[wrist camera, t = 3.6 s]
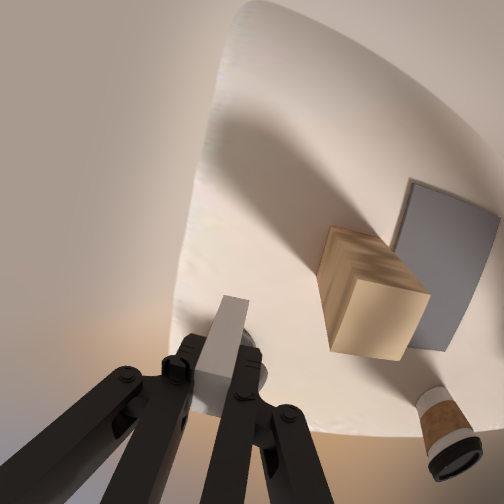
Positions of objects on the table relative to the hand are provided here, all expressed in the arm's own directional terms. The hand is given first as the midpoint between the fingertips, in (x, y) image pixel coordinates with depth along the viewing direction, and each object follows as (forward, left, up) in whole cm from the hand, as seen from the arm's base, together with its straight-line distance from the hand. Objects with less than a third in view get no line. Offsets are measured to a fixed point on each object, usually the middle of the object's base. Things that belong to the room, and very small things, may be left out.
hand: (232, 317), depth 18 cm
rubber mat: (-22, 0, -17) cm, 28 cm away
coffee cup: (-33, +20, -17) cm, 42 cm away
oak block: (-10, 0, -17) cm, 20 cm away
